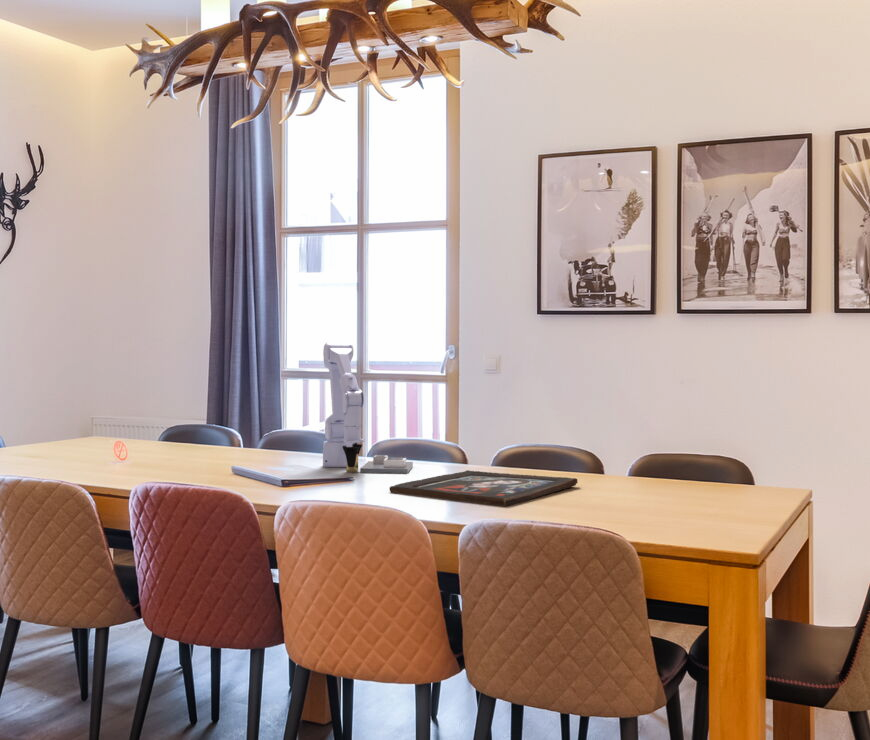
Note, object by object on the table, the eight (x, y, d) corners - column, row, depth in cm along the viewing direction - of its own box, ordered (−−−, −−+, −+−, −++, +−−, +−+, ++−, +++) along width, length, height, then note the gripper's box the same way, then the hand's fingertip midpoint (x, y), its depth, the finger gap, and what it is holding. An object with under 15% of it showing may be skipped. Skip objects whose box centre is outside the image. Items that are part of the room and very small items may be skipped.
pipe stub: (345, 472, 294) (345, 454, 294) (347, 471, 298) (347, 453, 298) (357, 472, 294) (357, 455, 293) (359, 471, 298) (359, 453, 297)
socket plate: (360, 472, 293) (360, 460, 293) (368, 465, 313) (368, 454, 313) (407, 473, 292) (407, 461, 292) (412, 466, 312) (412, 454, 312)
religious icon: (580, 486, 266) (580, 476, 266) (508, 509, 229) (508, 497, 229) (469, 477, 289) (468, 467, 289) (386, 496, 252) (386, 485, 252)
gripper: (361, 428, 288) (360, 469, 288) (367, 424, 302) (367, 463, 303) (340, 427, 288) (339, 468, 289) (347, 424, 303) (347, 463, 303)
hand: (352, 466), depth 296 cm, fingers closed on pipe stub, 4 cm apart
